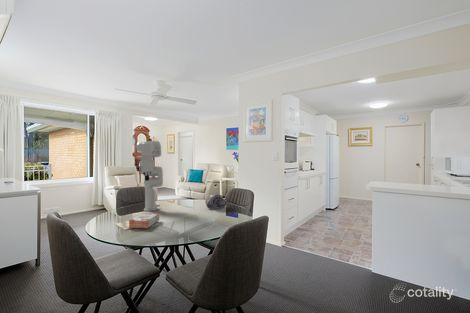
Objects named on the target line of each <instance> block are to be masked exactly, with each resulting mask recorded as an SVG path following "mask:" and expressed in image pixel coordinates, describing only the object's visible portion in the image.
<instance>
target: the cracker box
mask: <svg viewBox="0 0 470 313" xmlns="http://www.w3.org/2000/svg"><path fill="white" fill-rule="evenodd" d="M128 221H129V228H132V229H148V228H149V227H151V226H153V225H154V224H156V223H157V222H158V221H160V213H147V212H145V213H144V212H143V213H141V214H139V215H137V216H134V217H133V218H131V219H129V220H128Z"/></svg>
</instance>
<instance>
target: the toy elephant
mask: <svg viewBox="0 0 470 313" xmlns="http://www.w3.org/2000/svg"><path fill="white" fill-rule="evenodd" d="M205 205H206V208H208V209H209V210H216V209H217V210H218V209H223V208H225V207H226V206H227V205H228V202H227V200H226V199H225V198H224V197H223V195H221V194H220V193H214V194H211V195H209V196H207V198H206V199H205Z"/></svg>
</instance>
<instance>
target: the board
mask: <svg viewBox="0 0 470 313" xmlns="http://www.w3.org/2000/svg"><path fill="white" fill-rule="evenodd" d="M114 225H115V226H117V227H118V228H120V229H122V230H124V231H128V230H132V229H133V228H129V220H126V221H122V222H121V221H120V222H117V223H114Z"/></svg>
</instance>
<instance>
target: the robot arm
mask: <svg viewBox="0 0 470 313" xmlns="http://www.w3.org/2000/svg"><path fill="white" fill-rule="evenodd" d="M161 144H162V143H161V142H160V141H159V140H158V141H157V140H154V141H153V140H148V141H143V142H142V141H141V142H137V143H136V146H135V147H136V151H137V153H141V159H140V161H139V173H140V174H141V175H143V176H144V179H143V185H144V208H143V211H144V212H152V211H153V212H154V211H157V210H158V207H159V208H160V207H161V204H156V190H155V188H161V187H163V185H164V179H163V178H164V177H163V176H164V172H163V168H162V167H161V166H156V165H155V164H156V162H155V160H154V159H153V158H160V157H161V156H162V145H161Z"/></svg>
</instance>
